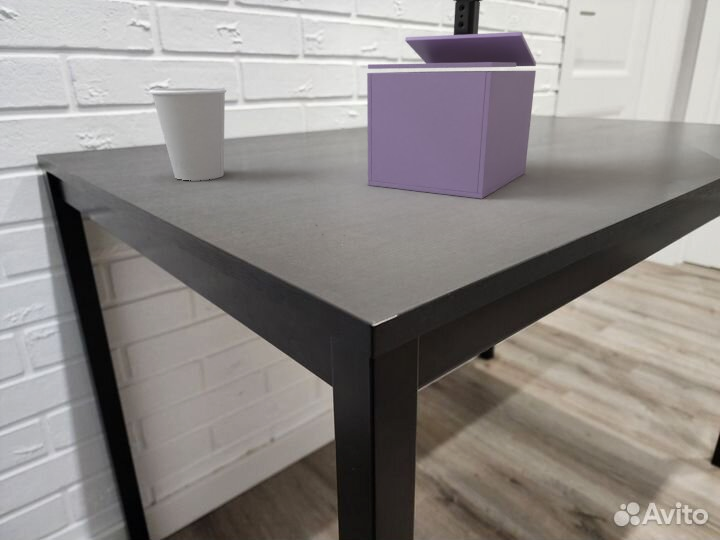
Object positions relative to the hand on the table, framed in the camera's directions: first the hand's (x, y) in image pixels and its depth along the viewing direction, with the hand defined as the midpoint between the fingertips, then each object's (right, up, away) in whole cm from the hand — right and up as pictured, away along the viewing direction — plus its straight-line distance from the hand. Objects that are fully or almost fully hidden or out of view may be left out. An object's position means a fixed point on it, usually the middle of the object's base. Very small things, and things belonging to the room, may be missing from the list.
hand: (465, 40), depth 56 cm
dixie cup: (-31, -14, +7) cm, 34 cm away
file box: (-1, -15, +3) cm, 15 cm away
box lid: (+1, -1, +1) cm, 2 cm away
